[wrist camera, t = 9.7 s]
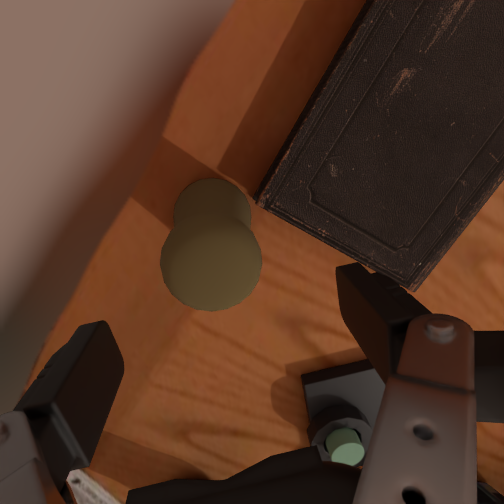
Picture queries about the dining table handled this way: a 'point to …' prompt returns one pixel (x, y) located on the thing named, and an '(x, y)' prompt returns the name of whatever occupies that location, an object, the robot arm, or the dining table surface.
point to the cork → (211, 247)
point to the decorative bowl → (488, 494)
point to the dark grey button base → (342, 403)
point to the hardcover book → (398, 136)
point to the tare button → (345, 446)
